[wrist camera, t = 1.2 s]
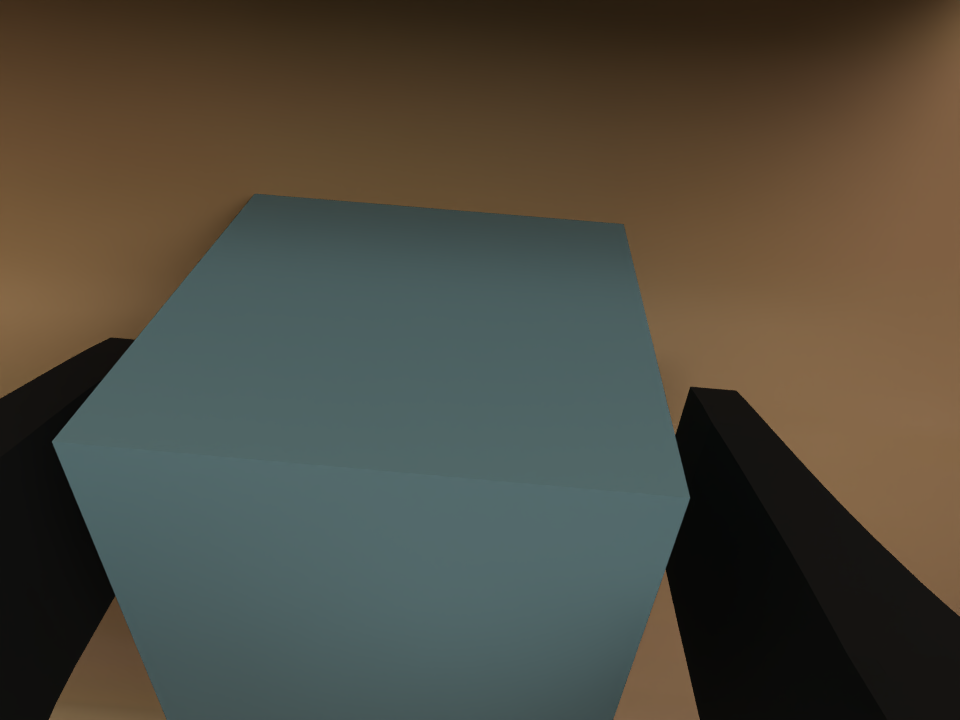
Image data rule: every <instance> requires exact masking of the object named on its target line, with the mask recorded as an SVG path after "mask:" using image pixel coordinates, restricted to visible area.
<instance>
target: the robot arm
mask: <svg viewBox="0 0 960 720" xmlns="http://www.w3.org/2000/svg"><path fill="white" fill-rule="evenodd" d="M134 341H135V340H133V339H121V338H109V339H107V340H105V341H103V342H101V343H99V344H97V345H95V346H93V347H91V348H89V349H87V350H85V351H83V352H82V353H80V354H78V355H76V356H74V357H72V358H71V359H69V360H67V361H65V362H63V363H62V364H60V365H58V366H56V367H55V368H53V369H51V370H49V371H48V372H46V373H44V374H42V375H41V376H39V377H37V378H35V379H34V380H32V381H30V382H29V383H27V384H25V385H23V386H22V387H20V388H18V389H16V390H15V391H13V392H11V393H9V394H8V395H6V396H4V397H2V398H1V399H0V720H49V718H50V715H51V713H52V711H53V709H54V706H55V704H56V702H57V700H58V698H59V696H60V694H61V692H62V690H63V688H64V687H65V685H66V683H67V681H68V679H69V677H70V675H71V673H72V671H73V669H74V667H75V665H76V664H77V662H78V660H79V658H80V657H81V655H82V653H83V651H84V650H85V648H86V646H87V644H88V643H89V641H90V639H91V637H92V636H93V634H94V632H95V630H96V629H97V627H98V625H99V623H100V621H101V620H102V618H103V616H104V614H105V613H106V611H107V609H108V607H109V606H110V604H111V602H112V600H113V599H114V597H115V593H114V591H113V588H112V586H111V583H110V581H109V579H108V576H107V574H106V571H105V569H104V567H103V564H102V562H101V559H100V557H99V554H98V552H97V550H96V547H95V545H94V542H93V540H92V538H91V535H90V533H89V530H88V528H87V525H86V523H85V521H84V518H83V516H82V513H81V511H80V509H79V506H78V504H77V501H76V499H75V496H74V494H73V492H72V489H71V487H70V484H69V482H68V480H67V477H66V475H65V472H64V470H63V467H62V465H61V463H60V460H59V458H58V455H57V453H56V450H55V448H54V446H53V443H52V441H53V440H54V438H55V437H56V436H57V435H58V434H59V432H60V431H61V430H62V429H63V427H64V426H65V425H66V424H67V423H68V421H69V420H70V419H71V418H72V416H73V415H74V414H75V413H76V412H77V410H78V409H79V408H80V407H81V405H82V404H83V403H84V402H85V401H86V399H87V398H88V397H89V396H90V394H91V393H92V392H93V391H94V390H95V388H96V387H97V386H98V385H99V383H100V382H101V381H102V380H103V379H104V377H105V376H106V375H107V374H108V372H109V371H110V370H111V369H112V368H113V366H114V365H115V364H116V363H117V362H118V360H119V359H120V358H121V357H122V355H123V354H124V353H125V352H126V351H127V349H128V348H129V347H130V346H131V344H132V343H133V342H134ZM675 438H676V442H677V446H678V450H679V454H680V458H681V462H682V466H683V470H684V475H685V479H686V483H687V487H688V491H689V495H690V500H689V503H688V506H687V508H686V511H685V514H684V517H683V520H682V523H681V526H680V529H679V531H678V534H677V537H676V540H675V543H674V546H673V549H672V552H671V554H670V557H669V560H668V563H667V566H666V572H667V577H668V582H669V586H670V591H671V595H672V600H673V604H674V609H675V613H676V618H677V622H678V626H679V631H680V635H681V639H682V644H683V648H684V653H685V657H686V661H687V666H688V670H689V674H690V679H691V683H692V687H693V692H694V696H695V701H696V705H697V709H698V714H699V718H700V720H960V616H958V615H957V614H956V613H955V612H954V611H952V610H951V609H950V608H949V607H948V606H947V605H946V604H945V603H943V602H942V601H941V600H940V599H939V598H938V597H937V596H936V595H934V594H933V593H932V592H931V591H930V590H929V589H928V588H927V587H926V586H924V585H923V584H922V583H921V582H920V581H919V580H918V579H917V578H916V577H915V576H914V575H913V574H912V573H911V572H910V571H909V570H907V569H906V568H905V567H904V566H903V565H902V564H901V563H900V562H899V561H898V560H897V559H896V558H895V557H894V556H893V555H892V554H891V553H890V552H889V551H888V550H886V549H885V548H884V547H883V546H882V545H881V544H880V543H879V542H878V541H877V540H876V539H875V538H874V537H873V536H872V535H871V534H870V533H869V532H868V531H867V530H866V529H865V528H864V527H863V526H862V525H861V524H860V523H859V522H858V521H857V520H856V519H855V518H854V517H853V516H852V515H851V514H850V513H849V512H848V511H847V510H846V509H845V508H844V507H843V506H842V505H841V504H840V503H839V502H838V501H837V500H836V498H835V497H834V496H833V495H832V494H831V493H830V492H829V491H828V490H827V489H826V488H825V487H824V486H823V485H822V484H821V483H820V482H819V480H818V479H817V478H816V477H815V476H814V475H813V474H812V473H811V472H810V471H809V470H808V469H807V468H806V466H805V465H804V464H803V463H802V462H801V461H800V460H799V459H798V458H797V457H796V455H795V454H794V453H793V452H792V451H791V450H790V449H789V448H788V447H787V446H786V444H785V443H784V442H783V441H782V440H781V439H780V438H779V437H778V436H777V434H776V433H775V432H774V431H773V430H772V429H771V428H770V427H769V426H768V424H767V423H766V422H765V421H764V420H763V419H762V418H761V417H760V416H759V414H758V413H757V412H756V411H755V410H754V409H753V408H752V407H751V406H750V405H749V404H748V402H747V401H746V400H745V399H744V398H743V397H742V396H741V395H740V394H739V393H738V392H737V391H734V390H722V389H710V388H698V387H690V390H689V393H688V396H687V399H686V403H685V406H684V409H683V412H682V416H681V419H680V422H679V425H678V429H677V432H676V435H675Z"/></svg>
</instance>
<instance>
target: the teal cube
mask: <svg viewBox="0 0 960 720" xmlns="http://www.w3.org/2000/svg"><path fill="white" fill-rule="evenodd" d="M52 443H53V446H54V448H55V450H56V453H57V455H58V458H59V460H60V463H61V465H62V467H63V470H64V472H65V475H66V477H67V480H68V482H69V484H70V487H71V489H72V492H73V494H74V496H75V499H76V501H77V504H78V506H79V509H80V511H81V513H82V516H83V518H84V521H85V523H86V525H87V528H88V530H89V533H90V535H91V538H92V540H93V542H94V545H95V547H96V550H97V552H98V554H99V557H100V559H101V562H102V564H103V567H104V569H105V571H106V574H107V576H108V579H109V581H110V583H111V586H112V588H113V591H114V593H115V596H116V598H117V600H118V603H119V605H120V608H121V610H122V613H123V615H124V617H125V620H126V622H127V625H128V627H129V629H130V632H131V634H132V637H133V639H134V642H135V644H136V646H137V649H138V651H139V654H140V656H141V658H142V661H143V663H144V666H145V668H146V671H147V673H148V675H149V678H150V680H151V683H152V685H153V687H154V690H155V692H156V695H157V697H158V700H159V702H160V704H161V707H162V709H163V712H164V714H165V717H166V719H167V720H613V718H614V715H615V712H616V710H617V707H618V704H619V701H620V698H621V695H622V692H623V689H624V687H625V684H626V681H627V678H628V675H629V672H630V669H631V666H632V664H633V661H634V658H635V655H636V652H637V649H638V646H639V643H640V641H641V638H642V635H643V632H644V629H645V626H646V623H647V621H648V618H649V615H650V612H651V609H652V606H653V603H654V600H655V598H656V595H657V592H658V589H659V586H660V583H661V580H662V577H663V575H664V572H665V569H666V566H667V563H668V560H669V557H670V554H671V552H672V549H673V546H674V543H675V540H676V537H677V534H678V531H679V529H680V526H681V523H682V520H683V517H684V514H685V511H686V508H687V506H688V503H689V500H690V495H689V491H688V487H687V483H686V479H685V475H684V470H683V466H682V462H681V458H680V454H679V450H678V446H677V442H676V438H675V433H674V429H673V425H672V421H671V417H670V413H669V409H668V405H667V401H666V396H665V392H664V388H663V384H662V380H661V376H660V372H659V368H658V364H657V360H656V355H655V351H654V347H653V343H652V339H651V335H650V331H649V327H648V323H647V318H646V314H645V310H644V306H643V302H642V298H641V294H640V290H639V286H638V281H637V277H636V273H635V269H634V265H633V261H632V257H631V253H630V249H629V245H628V240H627V236H626V232H625V228H624V224H615V223H603V222H591V221H579V220H567V219H555V218H543V217H530V216H518V215H506V214H494V213H482V212H470V211H457V210H445V209H433V208H421V207H409V206H397V205H385V204H372V203H360V202H348V201H336V200H324V199H312V198H300V197H287V196H275V195H263V194H254V195H253V197H252V198H251V199H250V200H249V201H248V203H247V204H246V205H245V206H244V208H243V209H242V210H241V211H240V212H239V214H238V215H237V216H236V217H235V219H234V220H233V221H232V222H231V223H230V225H229V226H228V227H227V228H226V230H225V231H224V232H223V233H222V234H221V236H220V237H219V238H218V239H217V241H216V242H215V243H214V244H213V245H212V247H211V248H210V249H209V250H208V252H207V253H206V254H205V255H204V256H203V258H202V259H201V260H200V261H199V263H198V264H197V265H196V266H195V267H194V269H193V270H192V271H191V272H190V274H189V275H188V276H187V277H186V278H185V280H184V281H183V282H182V283H181V285H180V286H179V287H178V288H177V289H176V291H175V292H174V293H173V294H172V296H171V297H170V298H169V299H168V300H167V302H166V303H165V304H164V305H163V307H162V308H161V309H160V310H159V311H158V313H157V314H156V315H155V316H154V318H153V319H152V320H151V321H150V322H149V324H148V325H147V326H146V327H145V329H144V330H143V331H142V332H141V333H140V335H139V336H138V337H137V338H136V340H135V341H134V342H133V343H132V344H131V346H130V347H129V348H128V349H127V351H126V352H125V353H124V354H123V355H122V357H121V358H120V359H119V360H118V362H117V363H116V364H115V365H114V366H113V368H112V369H111V370H110V371H109V372H108V374H107V375H106V376H105V377H104V379H103V380H102V381H101V382H100V383H99V385H98V386H97V387H96V388H95V390H94V391H93V392H92V393H91V394H90V396H89V397H88V398H87V399H86V401H85V402H84V403H83V404H82V405H81V407H80V408H79V409H78V410H77V412H76V413H75V414H74V415H73V416H72V418H71V419H70V420H69V421H68V423H67V424H66V425H65V426H64V427H63V429H62V430H61V431H60V432H59V434H58V435H57V436H56V437H55V438H54V440H53V441H52Z"/></svg>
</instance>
